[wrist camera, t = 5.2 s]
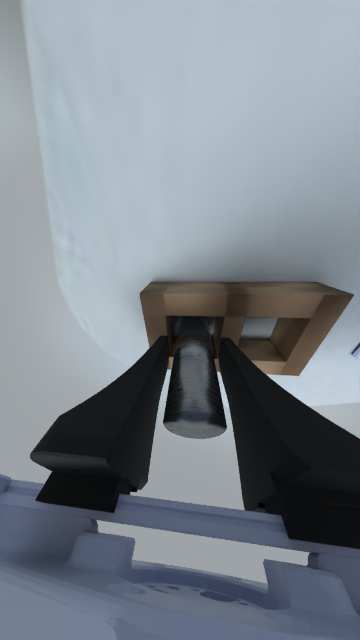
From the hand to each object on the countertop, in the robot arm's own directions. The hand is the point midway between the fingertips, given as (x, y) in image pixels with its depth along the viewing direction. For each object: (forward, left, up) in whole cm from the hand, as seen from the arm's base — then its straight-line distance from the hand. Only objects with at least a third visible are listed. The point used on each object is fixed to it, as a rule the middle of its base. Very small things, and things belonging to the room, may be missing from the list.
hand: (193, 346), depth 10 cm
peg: (0, 0, -4) cm, 4 cm away
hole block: (-3, 0, -4) cm, 5 cm away
